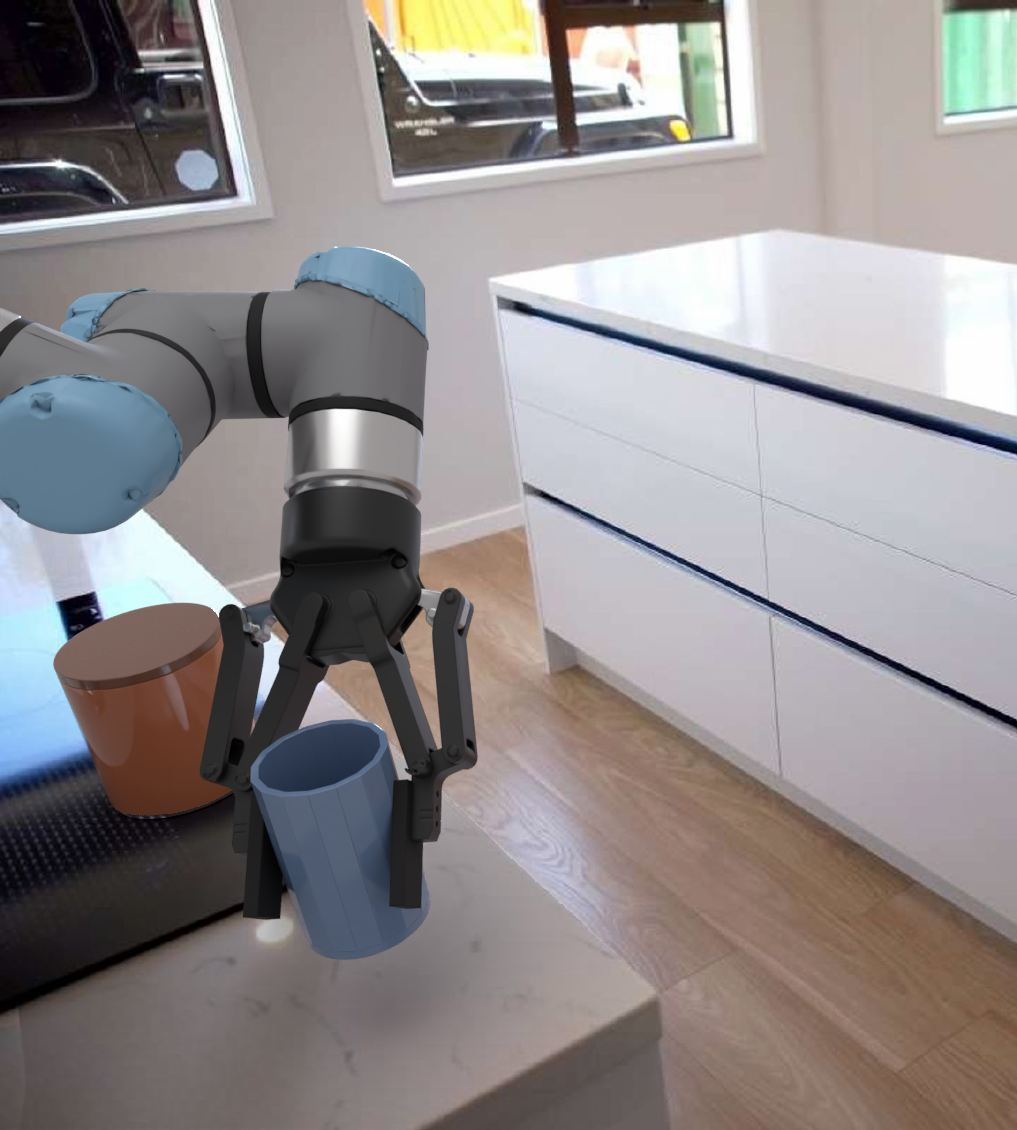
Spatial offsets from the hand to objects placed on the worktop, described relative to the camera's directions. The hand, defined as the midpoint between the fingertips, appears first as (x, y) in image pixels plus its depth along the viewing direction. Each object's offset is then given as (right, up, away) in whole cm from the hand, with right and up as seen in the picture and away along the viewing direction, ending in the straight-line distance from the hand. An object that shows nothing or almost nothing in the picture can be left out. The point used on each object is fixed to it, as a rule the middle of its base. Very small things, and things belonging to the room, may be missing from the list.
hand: (333, 911), depth 68 cm
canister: (-23, +2, +31) cm, 39 cm away
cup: (0, -1, +5) cm, 5 cm away
